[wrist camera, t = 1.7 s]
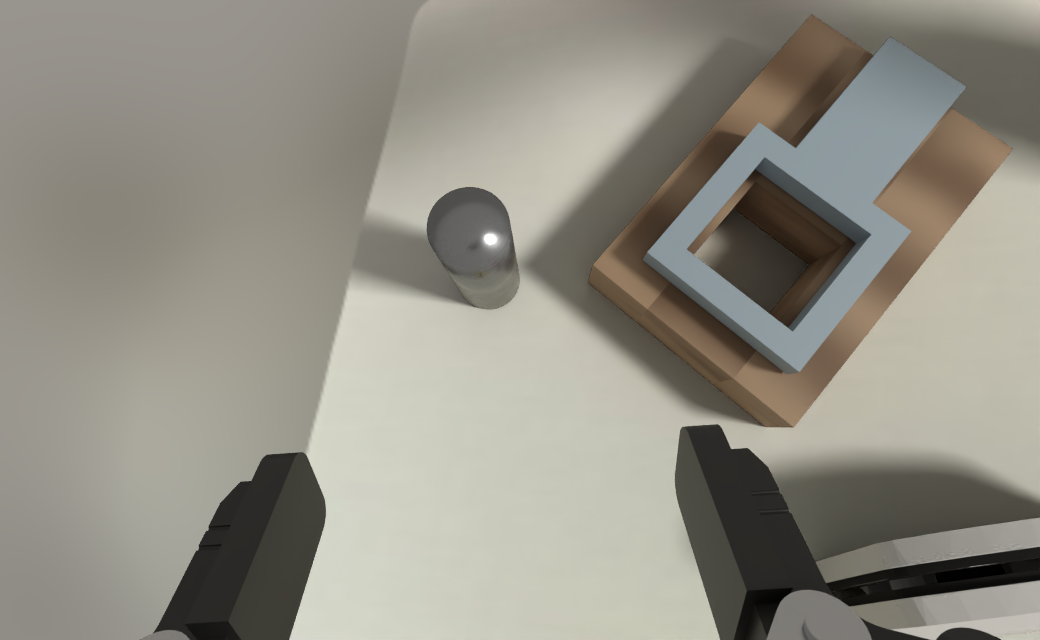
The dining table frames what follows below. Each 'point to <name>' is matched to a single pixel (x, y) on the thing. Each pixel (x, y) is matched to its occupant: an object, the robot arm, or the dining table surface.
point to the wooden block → (793, 227)
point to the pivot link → (818, 198)
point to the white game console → (942, 606)
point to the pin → (475, 245)
